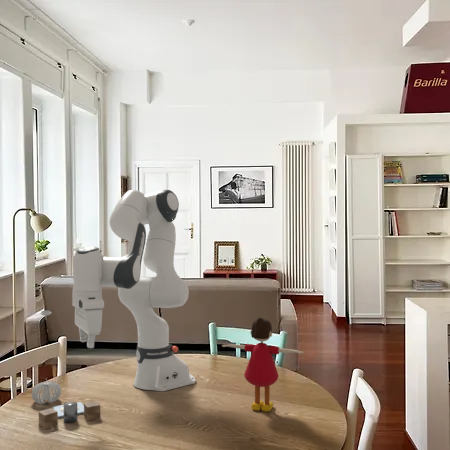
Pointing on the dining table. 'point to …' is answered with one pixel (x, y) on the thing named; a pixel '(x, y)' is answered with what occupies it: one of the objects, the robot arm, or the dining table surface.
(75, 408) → the metal cylinder
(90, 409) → the walnut cube
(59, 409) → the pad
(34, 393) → the pendant light
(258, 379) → the toy
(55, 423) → the walnut cube
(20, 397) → the dining table surface
